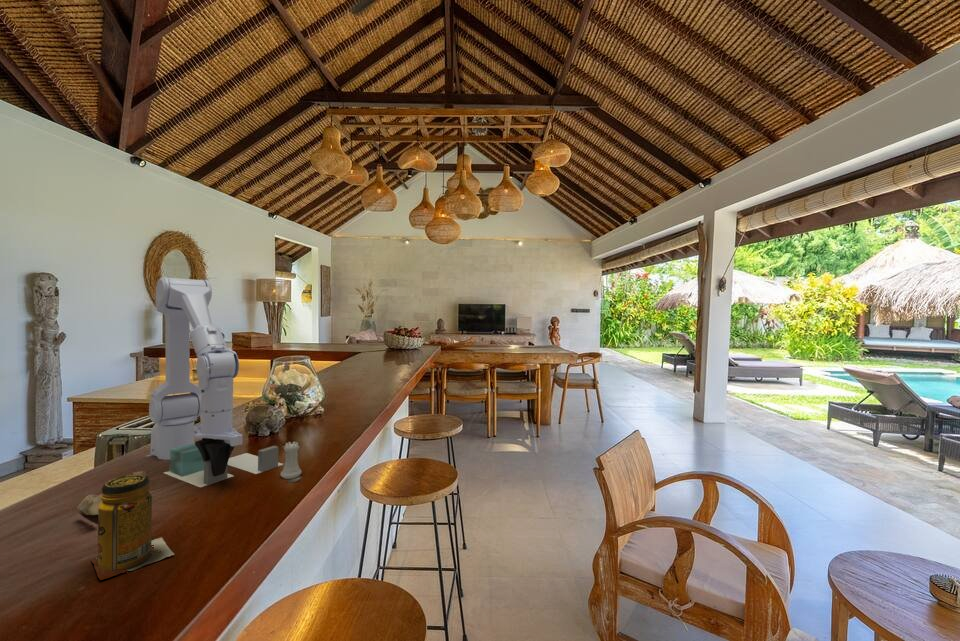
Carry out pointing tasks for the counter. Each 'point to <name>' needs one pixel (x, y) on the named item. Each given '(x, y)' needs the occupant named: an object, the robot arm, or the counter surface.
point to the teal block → (186, 460)
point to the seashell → (96, 501)
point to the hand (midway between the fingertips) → (215, 473)
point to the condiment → (127, 525)
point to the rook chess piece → (291, 463)
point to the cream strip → (202, 476)
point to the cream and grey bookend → (256, 460)
